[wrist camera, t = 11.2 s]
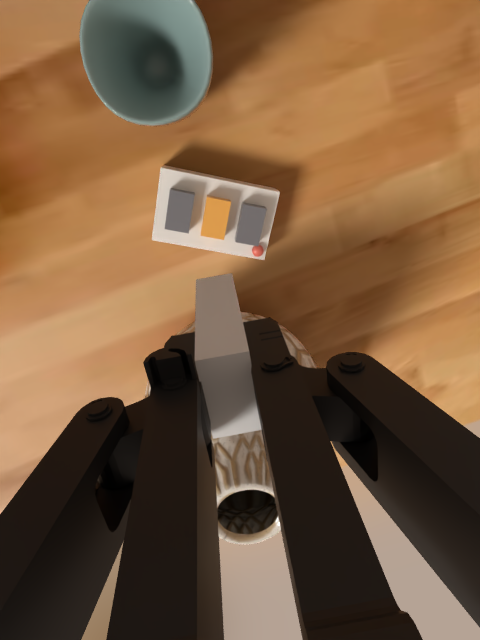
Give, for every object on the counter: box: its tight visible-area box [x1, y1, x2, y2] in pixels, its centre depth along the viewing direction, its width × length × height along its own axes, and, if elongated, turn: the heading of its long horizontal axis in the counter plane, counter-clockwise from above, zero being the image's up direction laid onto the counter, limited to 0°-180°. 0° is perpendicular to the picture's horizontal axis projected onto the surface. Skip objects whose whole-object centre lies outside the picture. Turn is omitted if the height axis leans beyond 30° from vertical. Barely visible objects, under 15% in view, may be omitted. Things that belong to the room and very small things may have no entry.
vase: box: [145, 312, 317, 544], centre depth 36 cm, size 16×16×20 cm
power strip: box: [152, 165, 280, 260], centre depth 37 cm, size 10×6×4 cm, turn 78°
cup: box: [80, 0, 213, 127], centre depth 29 cm, size 8×8×10 cm
